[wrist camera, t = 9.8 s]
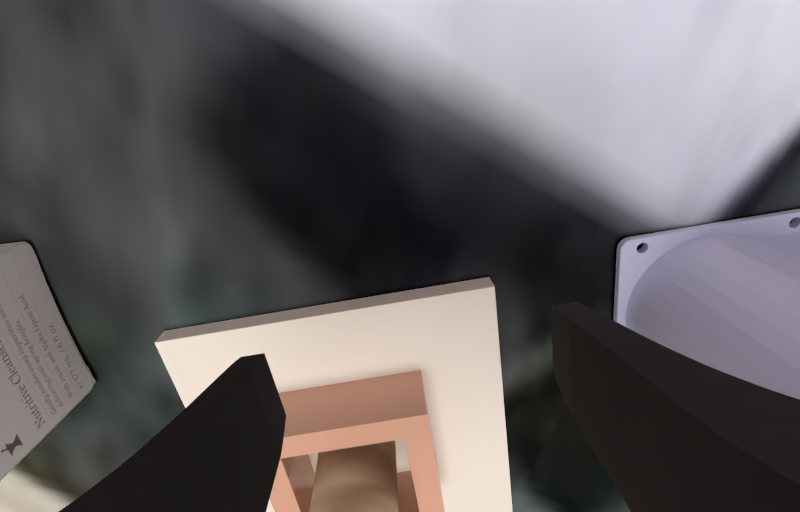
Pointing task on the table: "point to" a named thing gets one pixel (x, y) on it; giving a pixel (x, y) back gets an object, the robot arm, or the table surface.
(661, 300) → the robot arm
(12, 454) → the skincare box
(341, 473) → the maple peg
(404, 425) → the socket board
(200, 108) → the table surface
